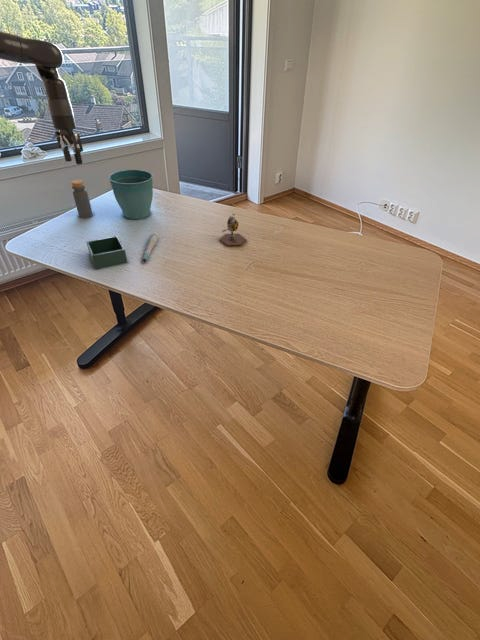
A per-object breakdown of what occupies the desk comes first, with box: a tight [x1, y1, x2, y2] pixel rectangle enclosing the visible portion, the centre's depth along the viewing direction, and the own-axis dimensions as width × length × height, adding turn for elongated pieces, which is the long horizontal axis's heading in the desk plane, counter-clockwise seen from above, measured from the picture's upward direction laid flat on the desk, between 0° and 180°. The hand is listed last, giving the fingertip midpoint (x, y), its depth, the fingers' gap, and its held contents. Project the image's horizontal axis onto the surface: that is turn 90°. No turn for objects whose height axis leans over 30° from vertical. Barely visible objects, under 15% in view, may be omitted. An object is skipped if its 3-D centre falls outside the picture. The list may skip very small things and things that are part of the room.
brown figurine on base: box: [219, 213, 247, 247], centre depth 139 cm, size 11×9×12 cm
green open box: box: [86, 235, 128, 270], centre depth 126 cm, size 11×11×6 cm
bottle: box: [70, 179, 94, 219], centre depth 149 cm, size 6×6×15 cm
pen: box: [142, 232, 159, 263], centre depth 133 cm, size 19×3×3 cm, turn 179°
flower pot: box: [108, 169, 154, 220], centre depth 152 cm, size 18×18×17 cm
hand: (74, 162), depth 133 cm, fingers open, 8 cm apart
